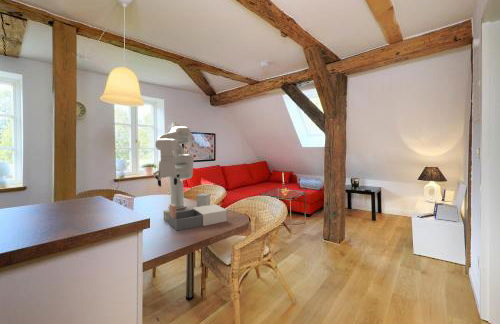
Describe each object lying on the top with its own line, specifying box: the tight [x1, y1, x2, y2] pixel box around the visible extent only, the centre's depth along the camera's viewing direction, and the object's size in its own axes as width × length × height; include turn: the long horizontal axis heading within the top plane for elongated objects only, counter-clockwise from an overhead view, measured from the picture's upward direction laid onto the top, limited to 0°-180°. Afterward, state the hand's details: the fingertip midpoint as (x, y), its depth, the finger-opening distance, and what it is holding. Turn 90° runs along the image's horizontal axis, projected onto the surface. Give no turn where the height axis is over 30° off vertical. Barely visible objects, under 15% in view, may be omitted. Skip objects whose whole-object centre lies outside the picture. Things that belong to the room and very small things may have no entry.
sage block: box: [163, 208, 170, 222], centre depth 157 cm, size 5×5×6 cm
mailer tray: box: [168, 203, 203, 231], centre depth 148 cm, size 16×19×13 cm
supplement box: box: [196, 192, 211, 207], centre depth 174 cm, size 7×7×13 cm
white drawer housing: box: [191, 203, 228, 227], centre depth 157 cm, size 18×16×7 cm
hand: (167, 185), depth 155 cm, fingers open, 9 cm apart
